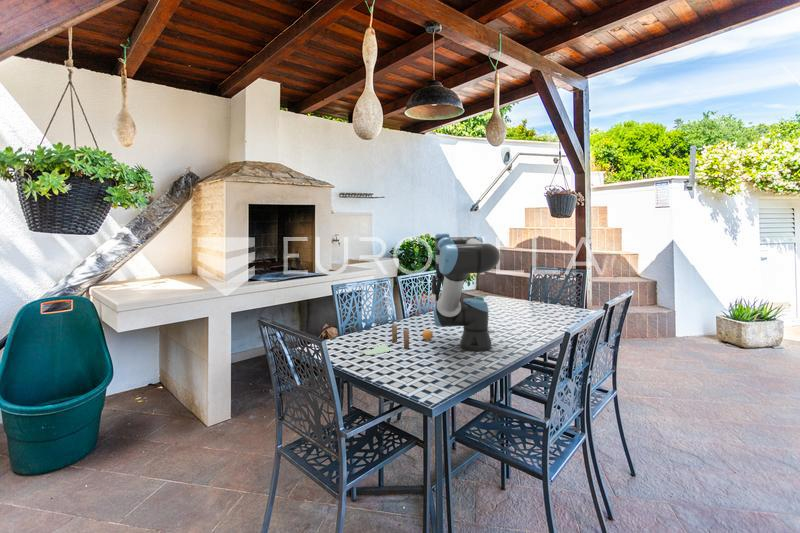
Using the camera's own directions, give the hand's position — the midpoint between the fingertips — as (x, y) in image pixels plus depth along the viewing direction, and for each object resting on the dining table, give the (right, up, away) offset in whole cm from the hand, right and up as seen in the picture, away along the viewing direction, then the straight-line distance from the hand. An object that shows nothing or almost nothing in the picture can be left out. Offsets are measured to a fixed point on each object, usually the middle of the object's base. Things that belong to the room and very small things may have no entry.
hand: (443, 306), depth 202 cm
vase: (+22, -15, +13) cm, 29 cm away
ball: (-9, -15, -3) cm, 17 cm away
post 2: (-20, -19, -16) cm, 32 cm away
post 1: (-26, -18, -5) cm, 32 cm away
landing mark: (-35, -19, -17) cm, 43 cm away
